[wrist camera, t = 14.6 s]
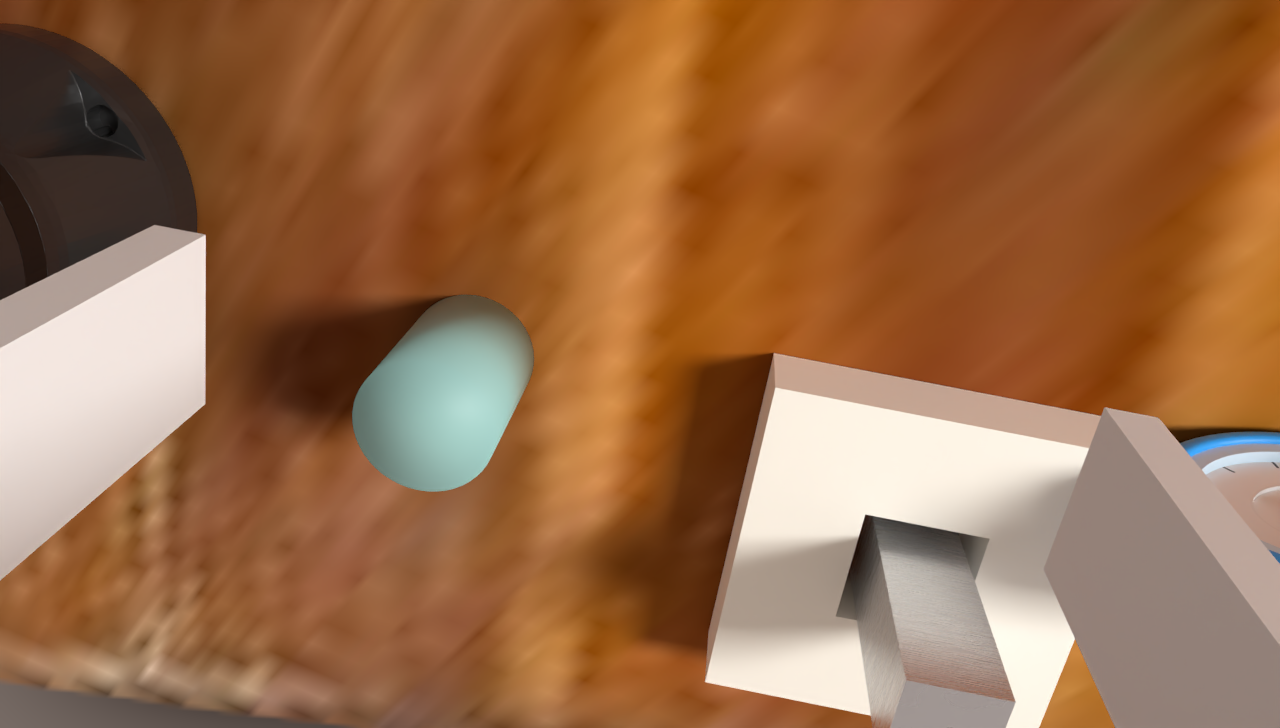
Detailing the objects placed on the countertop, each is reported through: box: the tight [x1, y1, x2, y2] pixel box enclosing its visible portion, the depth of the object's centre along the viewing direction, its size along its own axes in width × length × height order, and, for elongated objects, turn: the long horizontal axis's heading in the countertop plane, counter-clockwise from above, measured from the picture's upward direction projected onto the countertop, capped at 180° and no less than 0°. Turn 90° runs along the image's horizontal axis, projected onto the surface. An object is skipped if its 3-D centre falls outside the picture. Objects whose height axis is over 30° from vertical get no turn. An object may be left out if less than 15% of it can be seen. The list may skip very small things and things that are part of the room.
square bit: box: [849, 514, 1016, 728], centre depth 45 cm, size 4×4×14 cm
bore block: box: [705, 353, 1101, 728], centre depth 50 cm, size 16×16×4 cm
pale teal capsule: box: [352, 295, 534, 491], centre depth 47 cm, size 6×6×8 cm
